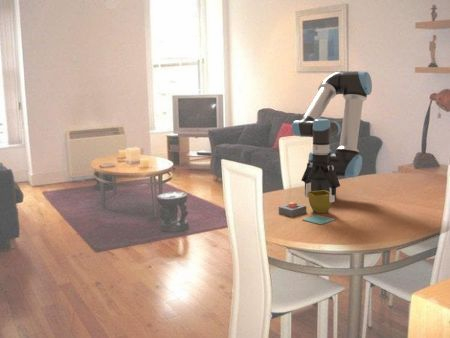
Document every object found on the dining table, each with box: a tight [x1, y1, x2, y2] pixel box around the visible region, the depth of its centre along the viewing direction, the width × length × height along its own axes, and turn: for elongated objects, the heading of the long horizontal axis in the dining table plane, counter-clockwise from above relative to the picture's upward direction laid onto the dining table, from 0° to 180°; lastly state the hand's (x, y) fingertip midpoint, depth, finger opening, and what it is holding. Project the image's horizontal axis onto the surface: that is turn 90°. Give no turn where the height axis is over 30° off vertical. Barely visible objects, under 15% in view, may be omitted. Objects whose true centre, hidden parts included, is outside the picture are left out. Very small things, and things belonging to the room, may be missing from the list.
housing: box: [278, 203, 307, 217], centre depth 244 cm, size 10×8×3 cm
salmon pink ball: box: [287, 202, 298, 208], centre depth 244 cm, size 4×4×4 cm
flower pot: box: [307, 190, 333, 214], centre depth 244 cm, size 9×9×9 cm
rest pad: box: [302, 214, 336, 226], centre depth 232 cm, size 10×10×1 cm
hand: (319, 199), depth 243 cm, fingers open, 13 cm apart
